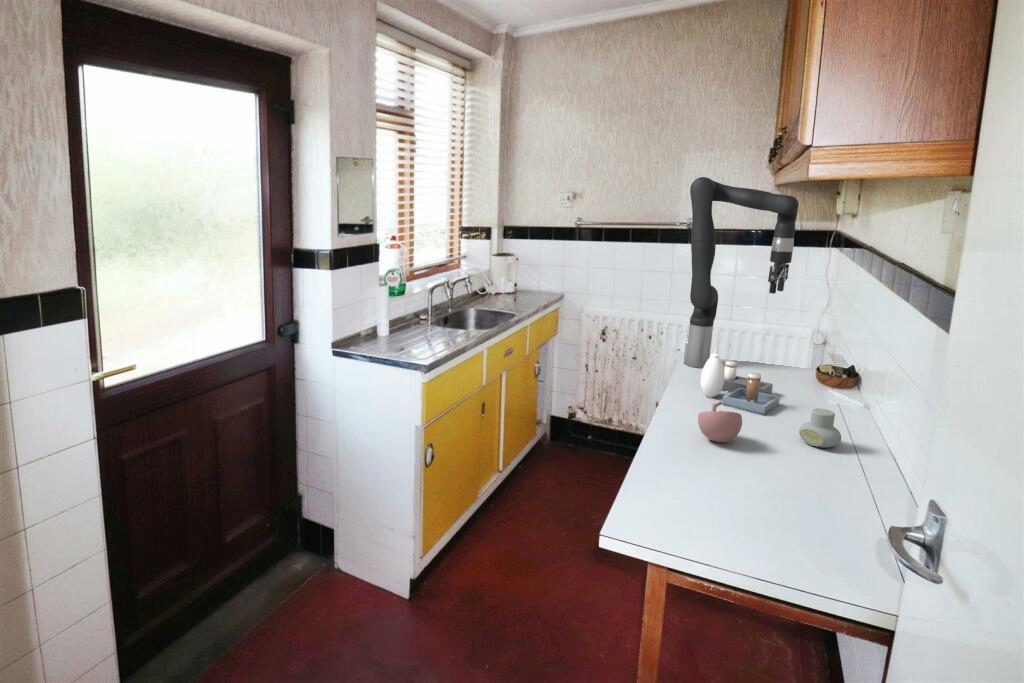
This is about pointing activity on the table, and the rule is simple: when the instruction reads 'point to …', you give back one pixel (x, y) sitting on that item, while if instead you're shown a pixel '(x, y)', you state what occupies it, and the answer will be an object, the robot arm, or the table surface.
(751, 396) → the cylinder
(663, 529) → the table surface
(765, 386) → the block
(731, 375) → the cylinder
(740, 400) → the parts tray
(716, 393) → the sauce bottle
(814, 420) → the air freshener
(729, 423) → the mortar and pestle
